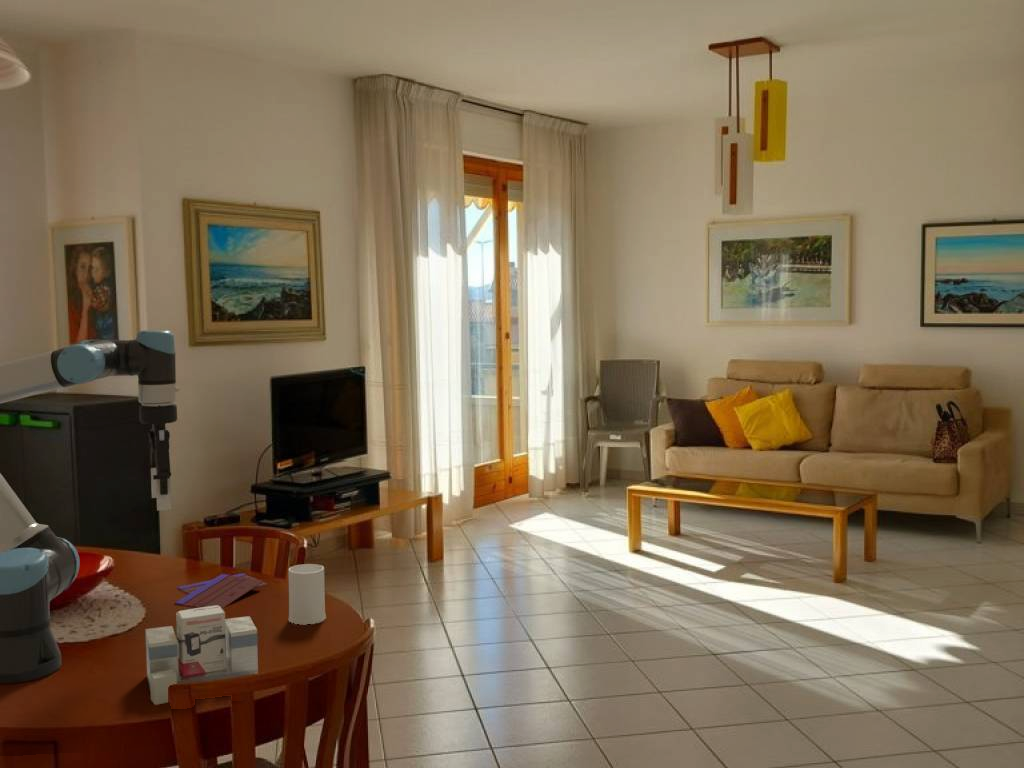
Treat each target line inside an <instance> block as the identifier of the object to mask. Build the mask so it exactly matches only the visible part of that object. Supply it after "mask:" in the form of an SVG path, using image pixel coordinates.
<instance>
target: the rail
mask: <svg viewBox="0 0 1024 768" xmlns="http://www.w3.org/2000/svg"><path fill="white" fill-rule="evenodd" d="M225 636H226V669H225V670H219V671H213V672H208V673H202V674H196V675H191V676H185V677H183V676H182V675H181V673H180V672H179V670H178V649H177V635H176V633H175V630H174V627H173V625H167V626H162V627H161V626H159V627H152V628H145V649H146V650H145V651H146V653H145V655H146V677H147V681H148V687H149V690H150V693H151V688H150V674H151V673H156V672H161V671H166V670H170V669H172V670H173V671H174V672H175V673H176V677H177V683H188V682H203V681H213V680H221V679H229V678H236V677H241V676H246V675H252V674H258V675H259V663H258V662H259V661H258V659H259V658H258V657H259V655H258V645H259V641H258V639H259V638H258V637H259V636H258V629H257V627H256V626H255V623H254V622H253V620H252V618H251V617H250V615H248V616H240V617H231V618H225Z"/></svg>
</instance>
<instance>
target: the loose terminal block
mask: <svg viewBox="0 0 1024 768" xmlns="http://www.w3.org/2000/svg"><path fill="white" fill-rule="evenodd" d="M173 684H177V677H176V673H175V672H174V671H173V670H172V669H170V670H166V671H161V672H156V673H151V674H150V687H149V689H150V688H151V692H150V700H151V702H152V703H153V704H154V706H157V705H160V704H162V705H163V704H166V703H169V702H168V687H169V686H170V685H173Z"/></svg>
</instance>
